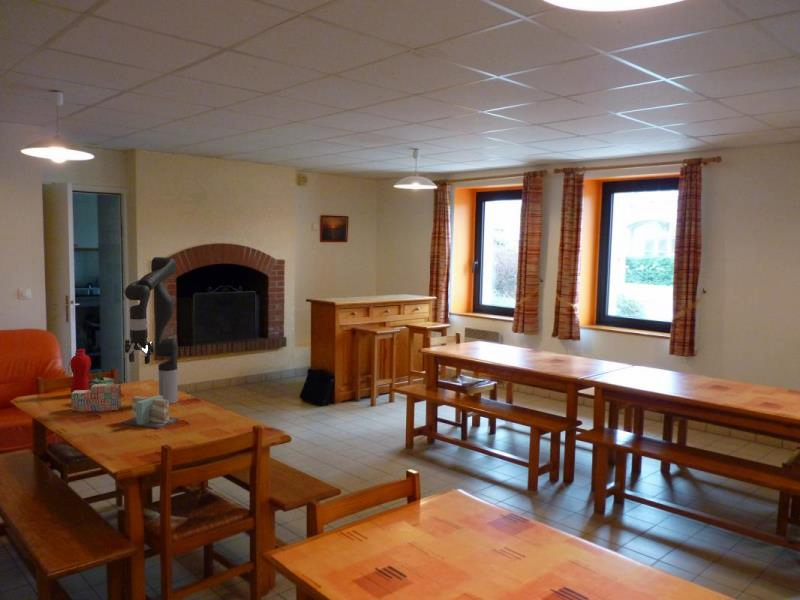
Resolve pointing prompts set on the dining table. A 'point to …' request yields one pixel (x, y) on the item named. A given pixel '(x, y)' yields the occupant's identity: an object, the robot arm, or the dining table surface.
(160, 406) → the stand
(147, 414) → the sage crossbar
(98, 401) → the stack of blocks
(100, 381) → the chalk box
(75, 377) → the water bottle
